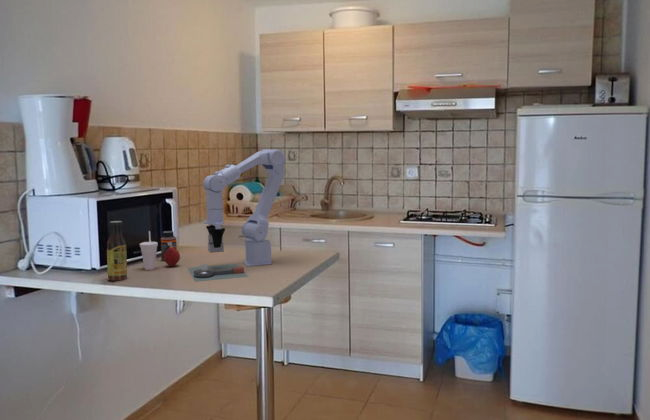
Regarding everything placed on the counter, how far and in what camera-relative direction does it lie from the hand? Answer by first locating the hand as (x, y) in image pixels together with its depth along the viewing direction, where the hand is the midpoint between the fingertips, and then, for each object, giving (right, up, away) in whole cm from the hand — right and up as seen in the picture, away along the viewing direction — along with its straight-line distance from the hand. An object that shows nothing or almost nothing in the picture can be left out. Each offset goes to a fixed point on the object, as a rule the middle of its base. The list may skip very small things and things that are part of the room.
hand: (216, 246), depth 205 cm
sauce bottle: (-31, -11, -12) cm, 35 cm away
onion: (-18, -8, +7) cm, 21 cm away
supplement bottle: (-22, -7, +19) cm, 30 cm away
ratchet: (+2, -9, -7) cm, 12 cm away
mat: (+1, -9, -4) cm, 10 cm away
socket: (0, -2, 0) cm, 2 cm away
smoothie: (-25, -9, +3) cm, 27 cm away
